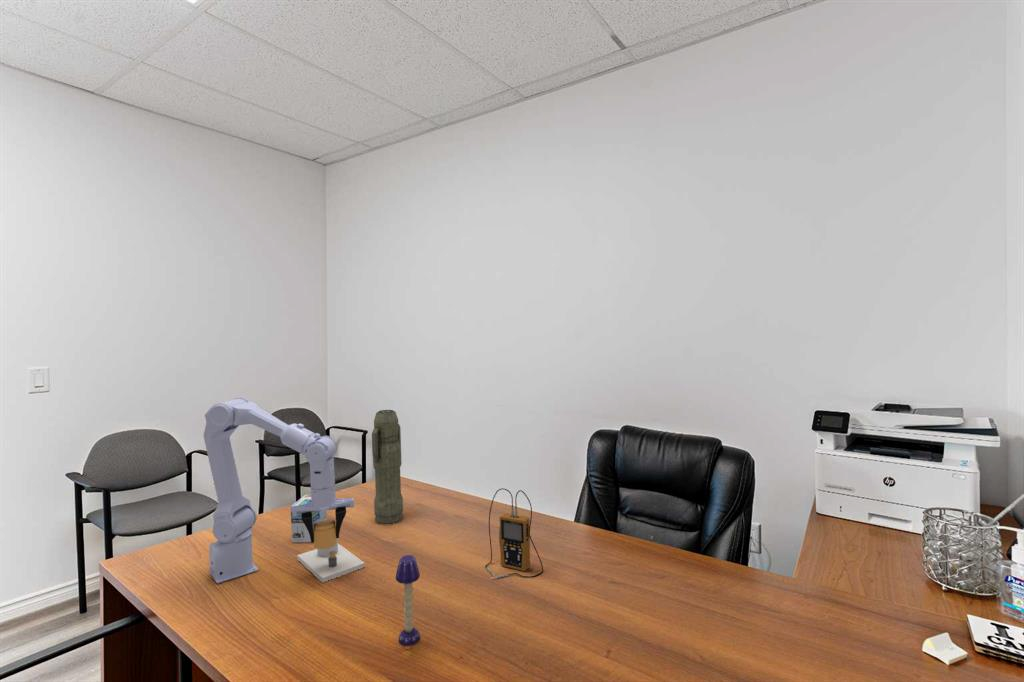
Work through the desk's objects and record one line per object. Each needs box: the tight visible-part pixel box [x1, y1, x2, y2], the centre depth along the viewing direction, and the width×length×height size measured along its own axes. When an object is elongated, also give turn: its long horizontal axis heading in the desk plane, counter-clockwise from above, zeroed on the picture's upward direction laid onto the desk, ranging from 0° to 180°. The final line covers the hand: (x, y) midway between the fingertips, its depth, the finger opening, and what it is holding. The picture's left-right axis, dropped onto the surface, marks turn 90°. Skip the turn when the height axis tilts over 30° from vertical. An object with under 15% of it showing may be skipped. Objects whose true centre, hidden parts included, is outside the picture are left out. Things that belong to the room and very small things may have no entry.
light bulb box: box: [289, 494, 328, 543], centre depth 152 cm, size 11×7×11 cm, turn 179°
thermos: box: [371, 409, 404, 525], centre depth 163 cm, size 9×12×35 cm
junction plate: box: [296, 538, 366, 583], centre depth 134 cm, size 11×17×7 cm, turn 42°
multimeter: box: [485, 487, 544, 580], centre depth 126 cm, size 15×10×20 cm
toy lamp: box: [395, 554, 421, 647], centre depth 101 cm, size 5×5×17 cm
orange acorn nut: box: [313, 518, 336, 549], centre depth 129 cm, size 5×5×6 cm
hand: (325, 539), depth 129 cm, fingers closed on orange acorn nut, 5 cm apart
